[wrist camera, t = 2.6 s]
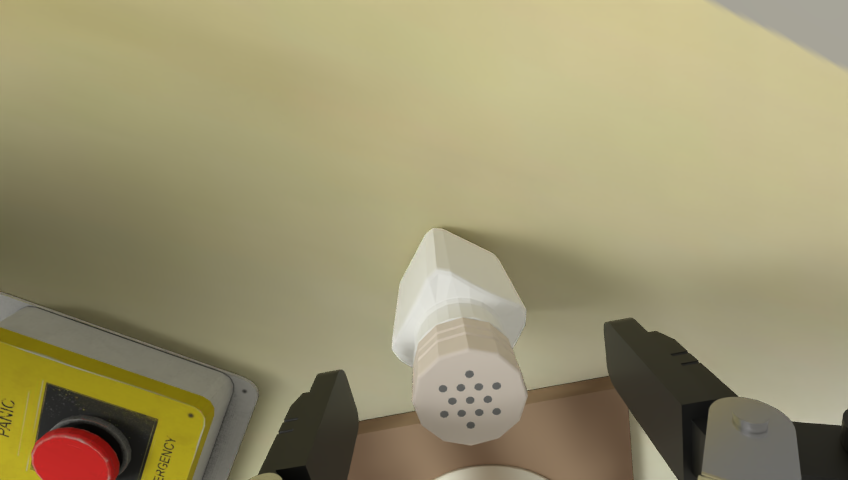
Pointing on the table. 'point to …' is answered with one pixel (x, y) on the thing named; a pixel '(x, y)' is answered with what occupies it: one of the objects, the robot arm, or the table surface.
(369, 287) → the table surface
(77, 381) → the emergency button
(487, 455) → the pin board
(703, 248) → the table surface
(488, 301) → the pepper shaker
